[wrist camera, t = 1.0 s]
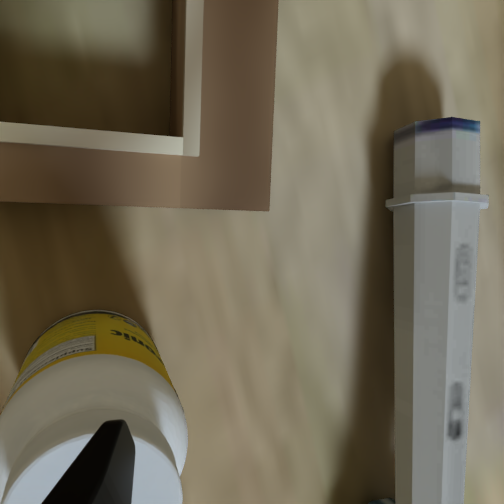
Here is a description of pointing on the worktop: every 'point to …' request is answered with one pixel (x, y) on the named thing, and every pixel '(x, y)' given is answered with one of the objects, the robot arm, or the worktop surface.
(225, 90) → the block with rectangular hole
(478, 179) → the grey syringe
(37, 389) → the supplement bottle
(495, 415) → the worktop surface
